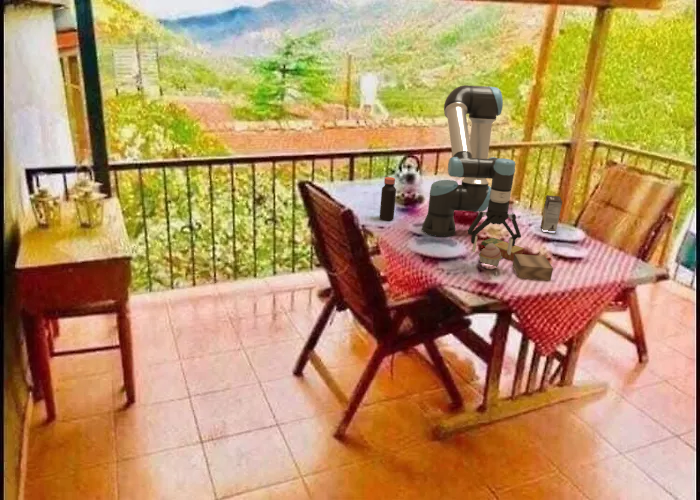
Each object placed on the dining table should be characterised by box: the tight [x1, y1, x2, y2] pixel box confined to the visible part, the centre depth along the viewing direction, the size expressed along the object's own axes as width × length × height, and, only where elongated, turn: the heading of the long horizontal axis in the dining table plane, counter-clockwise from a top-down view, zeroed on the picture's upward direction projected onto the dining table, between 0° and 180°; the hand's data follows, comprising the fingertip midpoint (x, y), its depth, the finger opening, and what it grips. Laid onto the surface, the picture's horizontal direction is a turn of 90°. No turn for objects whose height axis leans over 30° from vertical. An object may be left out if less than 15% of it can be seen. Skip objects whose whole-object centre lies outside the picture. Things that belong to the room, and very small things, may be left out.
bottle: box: [379, 176, 397, 222], centre depth 267 cm, size 7×7×20 cm
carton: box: [480, 237, 525, 262], centre depth 238 cm, size 8×16×4 cm, turn 41°
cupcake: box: [478, 243, 503, 267], centre depth 222 cm, size 9×9×10 cm
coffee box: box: [540, 194, 563, 232], centre depth 266 cm, size 9×6×16 cm
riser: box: [512, 253, 554, 281], centre depth 220 cm, size 12×12×5 cm
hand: (491, 252), depth 221 cm, fingers open, 13 cm apart
